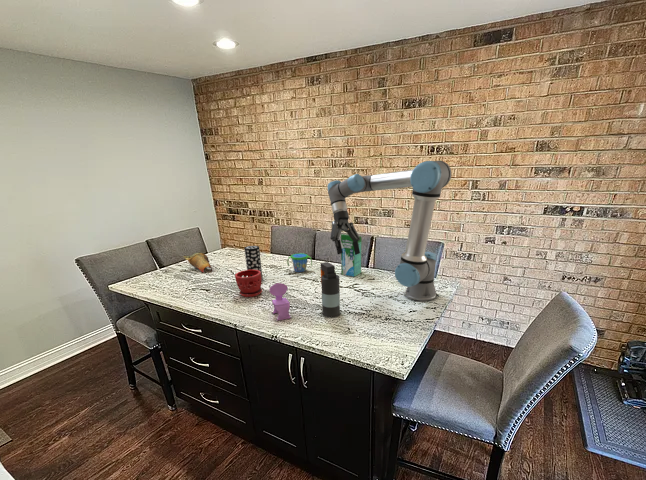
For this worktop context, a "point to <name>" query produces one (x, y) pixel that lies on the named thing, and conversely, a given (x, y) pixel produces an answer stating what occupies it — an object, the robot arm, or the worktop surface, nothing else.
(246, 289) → the plant pot
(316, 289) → the worktop surface
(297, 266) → the snack cup
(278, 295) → the toy chair
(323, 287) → the spray bottle
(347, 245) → the milk carton
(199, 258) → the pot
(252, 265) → the white-spotted black cylinder
